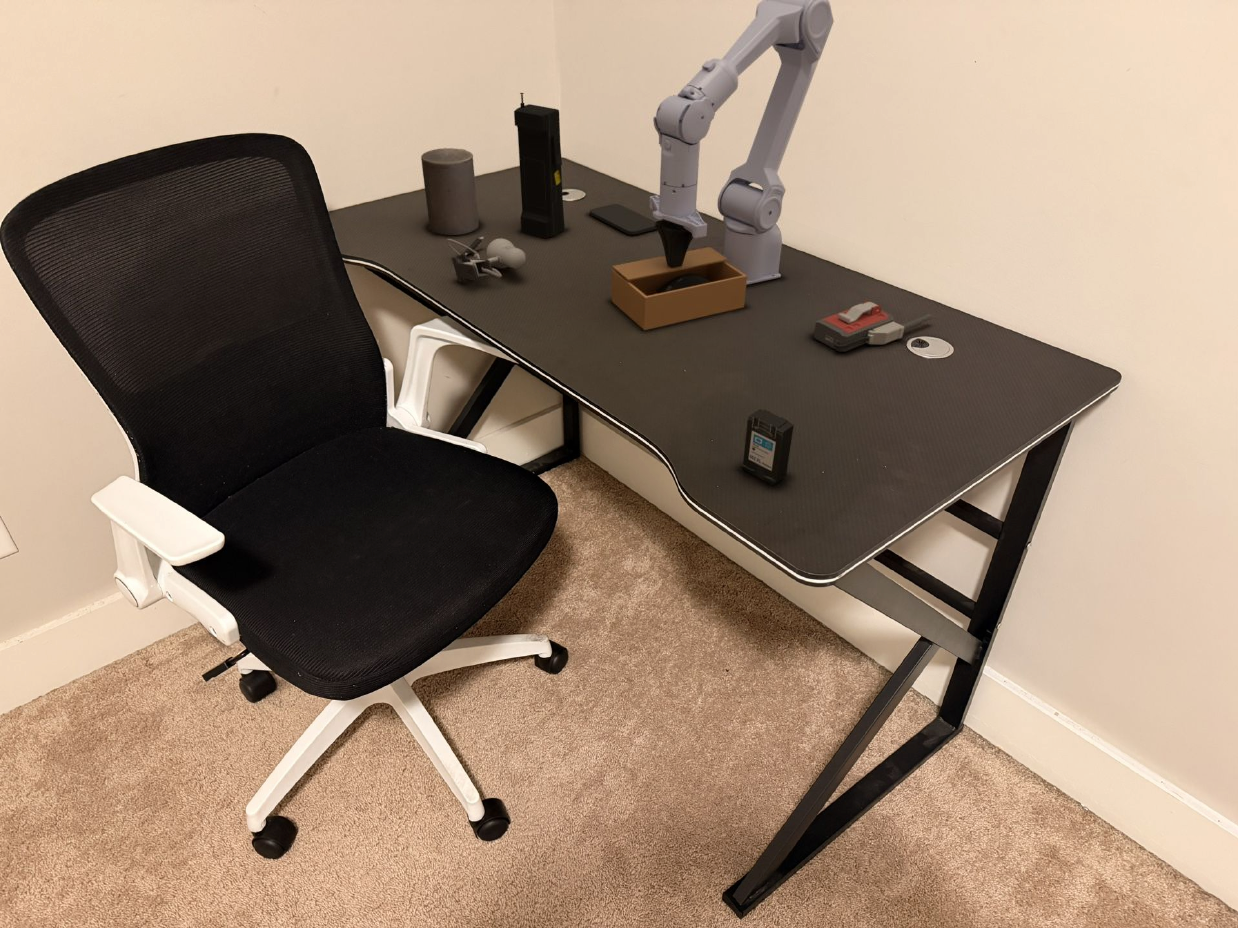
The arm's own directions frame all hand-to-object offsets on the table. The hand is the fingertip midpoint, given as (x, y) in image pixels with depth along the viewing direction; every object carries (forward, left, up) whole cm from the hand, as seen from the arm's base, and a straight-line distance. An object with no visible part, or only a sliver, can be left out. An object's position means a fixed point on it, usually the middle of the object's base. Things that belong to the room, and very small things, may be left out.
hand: (674, 265), depth 140 cm
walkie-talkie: (-22, +23, -6) cm, 33 cm away
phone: (-9, -36, -6) cm, 37 cm away
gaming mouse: (0, +2, -6) cm, 6 cm away
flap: (0, -1, 0) cm, 1 cm away
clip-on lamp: (+24, -26, -6) cm, 36 cm away
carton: (0, +1, -6) cm, 6 cm away
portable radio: (+7, -38, -6) cm, 39 cm away
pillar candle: (+22, -48, -6) cm, 53 cm away
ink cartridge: (+14, +46, -6) cm, 49 cm away
